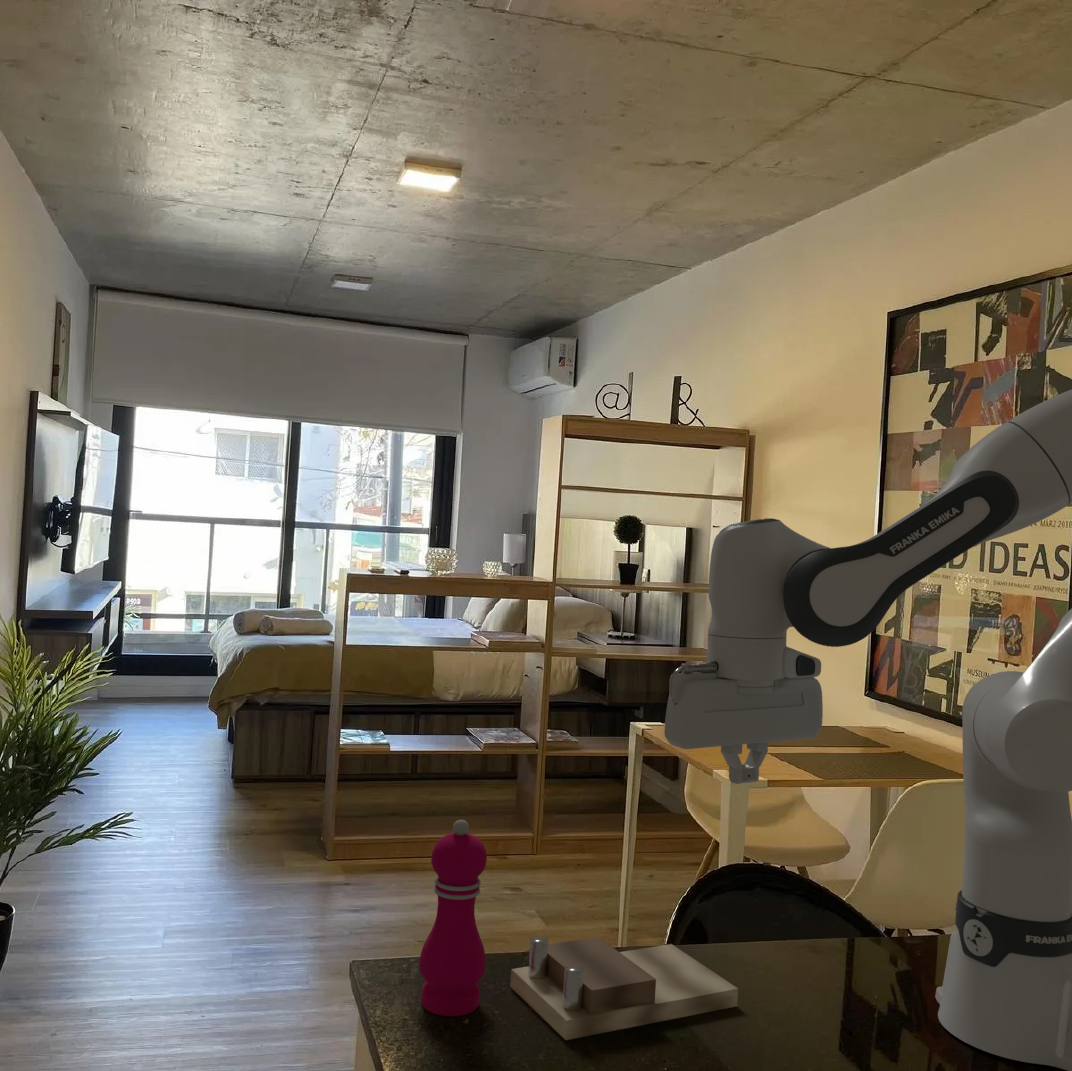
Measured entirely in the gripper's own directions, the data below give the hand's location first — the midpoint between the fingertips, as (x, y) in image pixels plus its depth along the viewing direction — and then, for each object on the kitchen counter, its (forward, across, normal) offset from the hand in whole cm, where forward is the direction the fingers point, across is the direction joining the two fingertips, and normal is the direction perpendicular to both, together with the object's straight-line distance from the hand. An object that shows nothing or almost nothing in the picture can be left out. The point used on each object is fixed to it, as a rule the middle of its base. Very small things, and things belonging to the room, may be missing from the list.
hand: (743, 782), depth 117 cm
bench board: (+24, -12, +5) cm, 28 cm away
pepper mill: (+24, -31, +10) cm, 41 cm away
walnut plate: (+22, -16, +5) cm, 28 cm away
